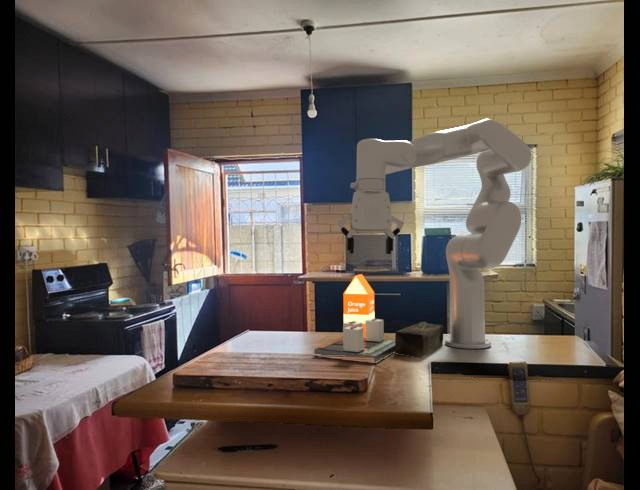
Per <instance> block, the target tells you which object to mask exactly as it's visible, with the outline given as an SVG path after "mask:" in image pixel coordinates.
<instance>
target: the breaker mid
mask: <svg viewBox="0 0 640 490" xmlns="http://www.w3.org/2000/svg"><path fill="white" fill-rule="evenodd" d="M349 326H351V327H353V326H357V327H362V323H361V322H356V321H352V322H346V323H344V322H343V323H342V329H343V328H346V327H349Z"/></svg>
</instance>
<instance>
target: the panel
mask: <svg viewBox="0 0 640 490" xmlns="http://www.w3.org/2000/svg"><path fill="white" fill-rule="evenodd" d="M313 350H314V354H321V355H345V356H365V357H372V358H374V360H375V362H376V361H378V360H380V359H381V358H384V357H385V356H387V355H389V354H391V353H393V352H395V340H394V339H393V340H391V339H389V340H388V339H387V340H386V339H385V338H384V339H383V340H381V341H379V342H377V341H367V340H366V338H364V349H363V350H361V351H359V352H353V351H344V350H343V336H342V337H339V338H337V339H335V340H331V341H329V342H327V343H324V344H322V345H319V346H317V347H316V348H314V349H313ZM314 354H313V355H314Z"/></svg>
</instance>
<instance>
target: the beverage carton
mask: <svg viewBox="0 0 640 490" xmlns="http://www.w3.org/2000/svg"><path fill="white" fill-rule="evenodd" d="M394 333H395V334H394V335H395V336H394V337H395V339H394V341H395V353H398V354H404V355H403V356H405V355H409V356H408V357H411V356H414V357H415V358H420V359H421V358H422V359H423V358H424V357H425V356H427V355H429V354H430V353H431V352H432V353H433V351H435V350H436V349H438V348H440V347H441V346H442V345H443V342H444V325H442V324H435V323H428V322H426V321H421V322H418V323H416V324H412V325H410V326H407V327H404V328H402V329H399V330H397V331H395V332H394ZM395 353H394V354H395ZM398 354H397V355H398ZM414 357H413V358H414Z"/></svg>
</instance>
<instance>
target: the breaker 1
mask: <svg viewBox="0 0 640 490" xmlns="http://www.w3.org/2000/svg"><path fill="white" fill-rule="evenodd" d="M342 337H343V350H344V351H353V352H359V351H361V350H363V349H364V328H363V327H357V326H353V327H351V326H349V327H346V328H343V327H342Z"/></svg>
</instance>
